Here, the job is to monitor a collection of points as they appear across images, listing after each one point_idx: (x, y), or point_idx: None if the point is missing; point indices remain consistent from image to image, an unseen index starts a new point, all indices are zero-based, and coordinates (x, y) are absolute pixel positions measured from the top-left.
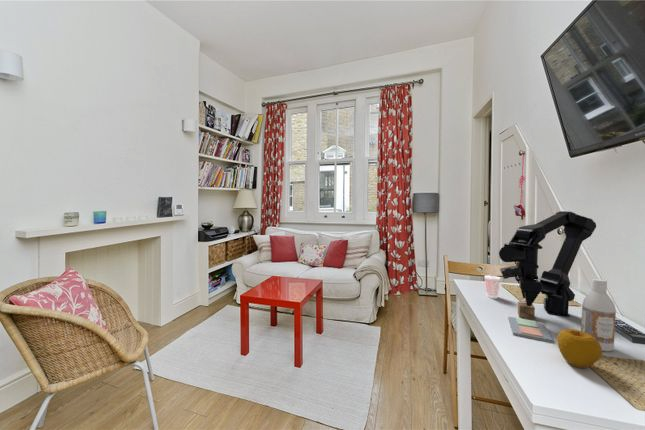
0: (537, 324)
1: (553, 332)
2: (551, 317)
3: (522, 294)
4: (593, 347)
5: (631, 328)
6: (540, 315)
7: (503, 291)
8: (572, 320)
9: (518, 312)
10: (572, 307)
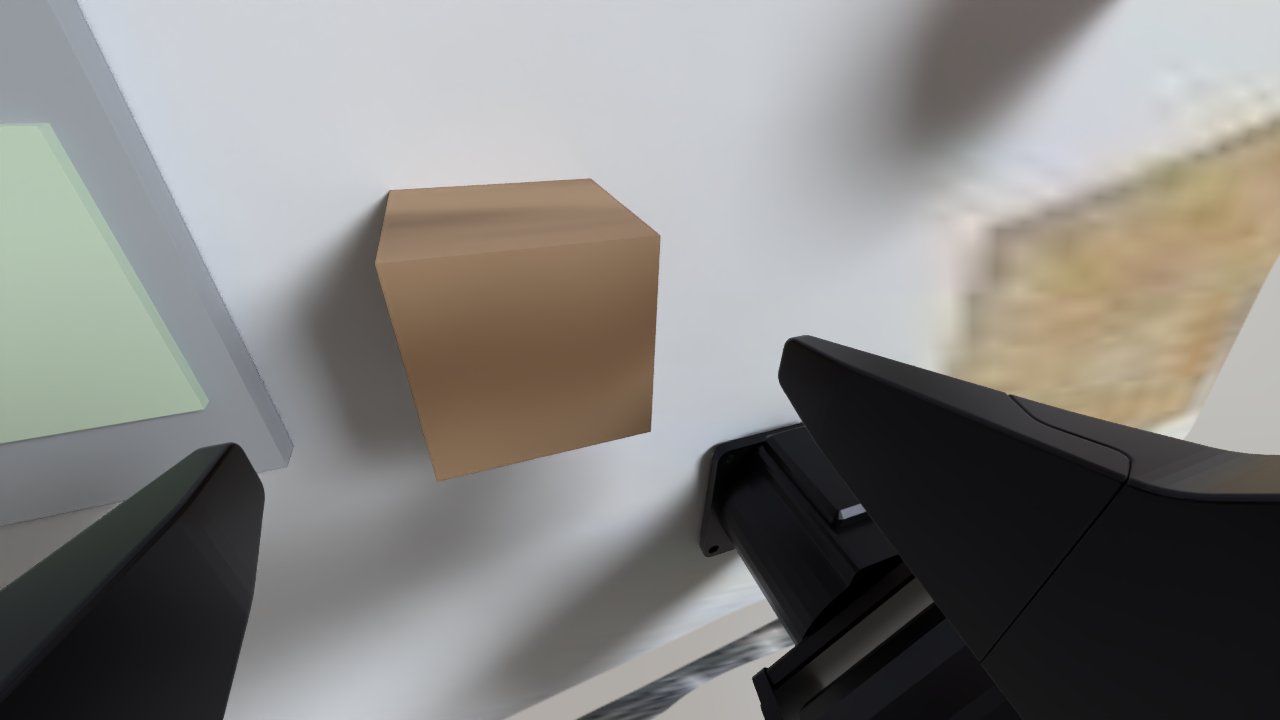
0: (89, 433)
1: None
2: (627, 472)
3: (834, 365)
4: None
5: (653, 711)
6: None
7: (1267, 75)
8: (635, 567)
9: (502, 194)
10: None
